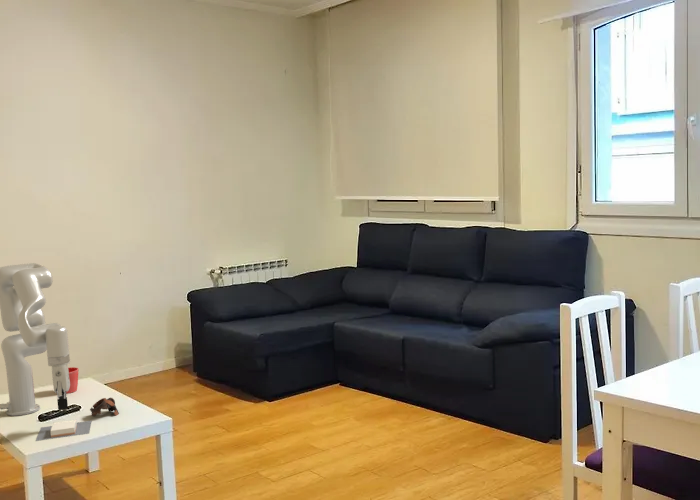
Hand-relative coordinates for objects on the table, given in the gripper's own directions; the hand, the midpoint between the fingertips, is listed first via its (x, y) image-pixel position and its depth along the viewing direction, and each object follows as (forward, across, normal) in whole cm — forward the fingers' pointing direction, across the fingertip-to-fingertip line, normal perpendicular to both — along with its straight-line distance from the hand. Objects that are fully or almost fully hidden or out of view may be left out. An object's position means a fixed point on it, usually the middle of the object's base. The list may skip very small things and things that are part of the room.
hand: (63, 408), depth 274 cm
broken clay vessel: (+8, +10, -14) cm, 20 cm away
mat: (+8, -4, 0) cm, 9 cm away
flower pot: (+9, +57, +4) cm, 58 cm away
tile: (+6, 0, 0) cm, 6 cm away
